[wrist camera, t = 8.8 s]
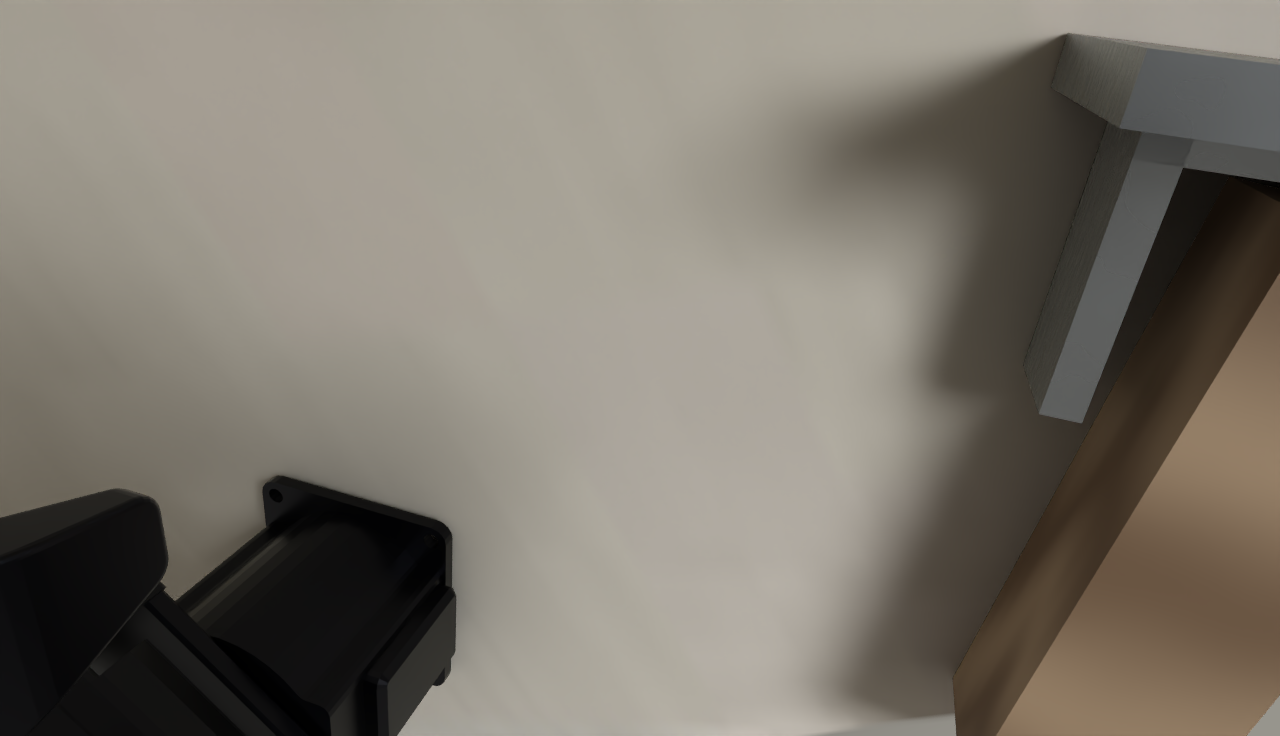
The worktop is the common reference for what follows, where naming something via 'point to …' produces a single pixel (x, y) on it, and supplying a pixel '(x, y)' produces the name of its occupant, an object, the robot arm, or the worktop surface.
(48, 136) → the worktop surface
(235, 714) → the robot arm
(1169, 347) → the block
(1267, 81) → the bracket
